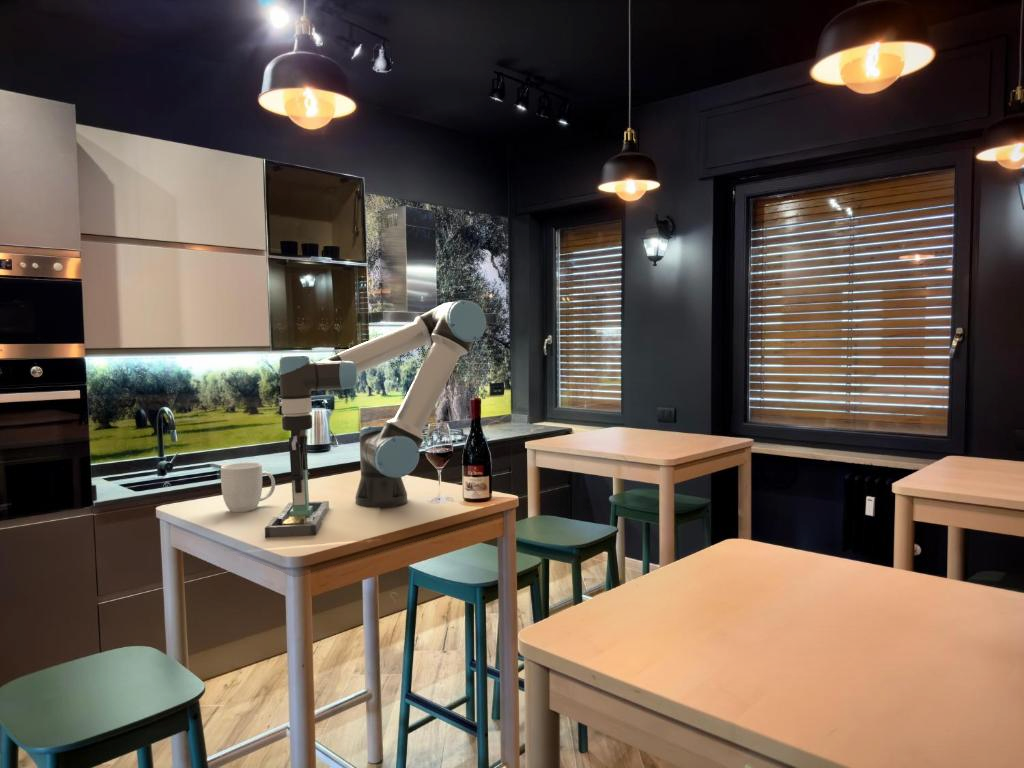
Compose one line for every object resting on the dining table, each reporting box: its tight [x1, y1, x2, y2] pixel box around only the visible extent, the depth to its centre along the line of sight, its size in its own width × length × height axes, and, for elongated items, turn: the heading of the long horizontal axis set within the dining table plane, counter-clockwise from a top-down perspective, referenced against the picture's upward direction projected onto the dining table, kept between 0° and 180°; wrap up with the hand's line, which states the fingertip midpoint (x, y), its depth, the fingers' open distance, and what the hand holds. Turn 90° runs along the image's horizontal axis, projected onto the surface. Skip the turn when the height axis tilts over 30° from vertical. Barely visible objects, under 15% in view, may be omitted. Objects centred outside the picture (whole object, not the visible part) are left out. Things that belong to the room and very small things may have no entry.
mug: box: [220, 461, 276, 513], centre depth 198 cm, size 15×11×13 cm
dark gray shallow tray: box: [277, 500, 330, 526], centre depth 187 cm, size 11×18×2 cm, turn 7°
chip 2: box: [288, 515, 307, 525], centre depth 177 cm, size 4×4×2 cm
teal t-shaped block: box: [290, 470, 313, 518], centre depth 182 cm, size 5×5×12 cm
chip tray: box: [264, 515, 323, 539], centre depth 173 cm, size 12×10×3 cm
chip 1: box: [282, 519, 302, 526], centre depth 173 cm, size 4×4×2 cm
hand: (301, 502), depth 182 cm, fingers closed on teal t-shaped block, 3 cm apart
